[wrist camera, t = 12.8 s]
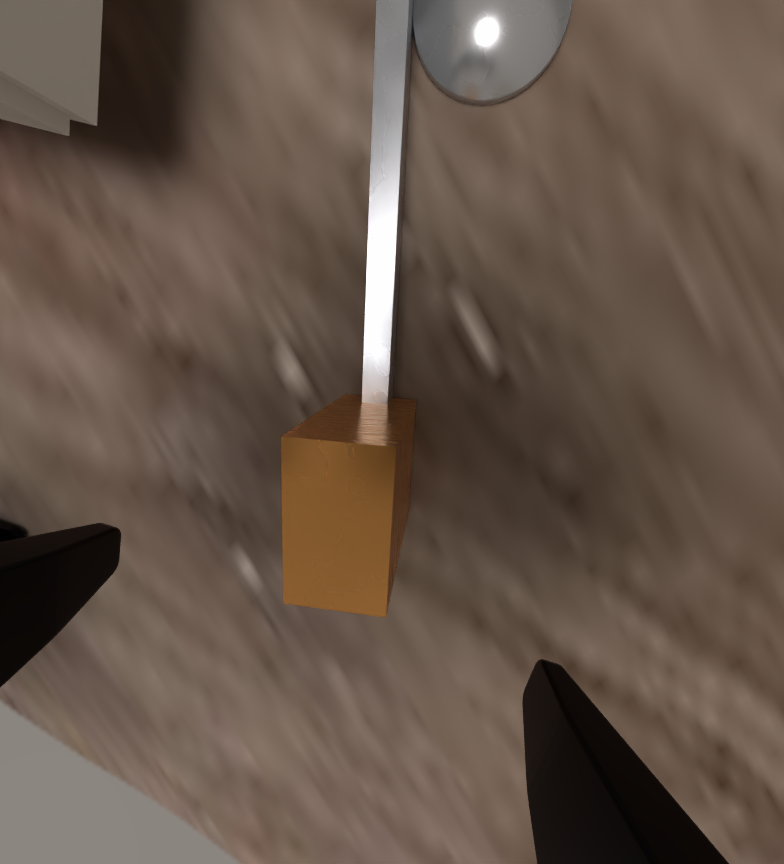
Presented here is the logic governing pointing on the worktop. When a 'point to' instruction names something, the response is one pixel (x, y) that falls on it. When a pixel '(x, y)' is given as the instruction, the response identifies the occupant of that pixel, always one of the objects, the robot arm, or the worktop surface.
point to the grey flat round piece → (487, 45)
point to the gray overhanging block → (50, 62)
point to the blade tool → (354, 414)
